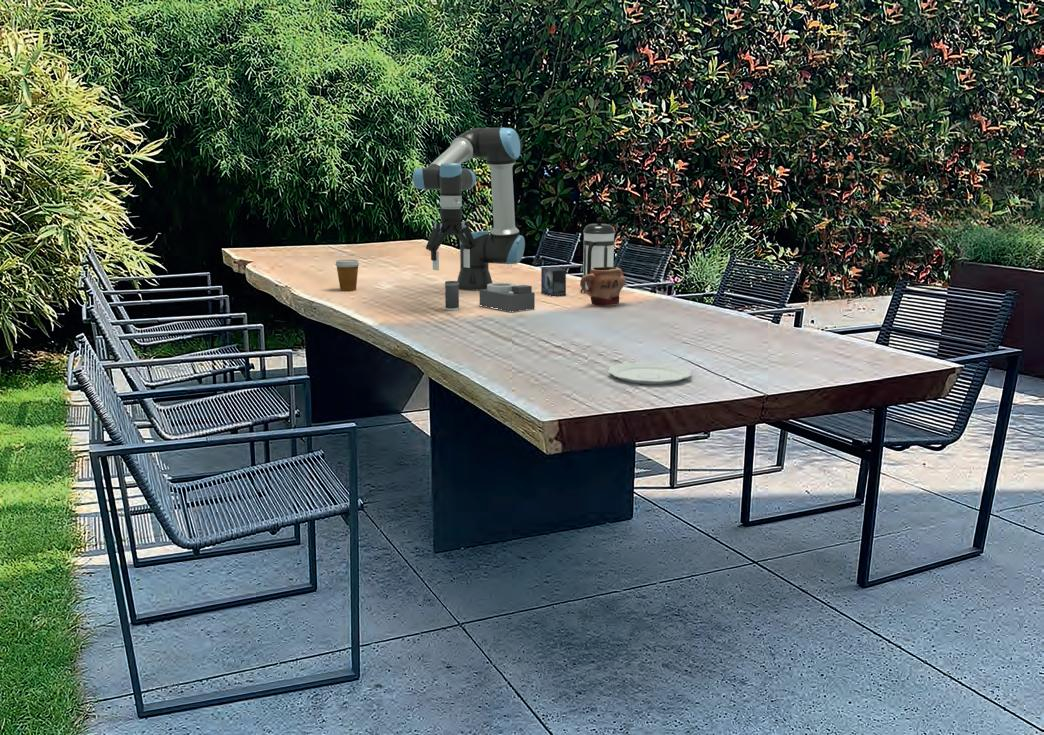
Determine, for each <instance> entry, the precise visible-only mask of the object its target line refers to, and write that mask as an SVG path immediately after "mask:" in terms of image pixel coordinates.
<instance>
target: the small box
mask: <svg viewBox="0 0 1044 735" xmlns="http://www.w3.org/2000/svg"><path fill="white" fill-rule="evenodd" d="M540 271H541V272H540V273H541V274H540V275H541V276H540V278H541V279H540V280H541V284H540V285H541V286H540V289H541V290H540V292H541V294H543V293H544V295H546V294H548V295H547V296H549V295H551V296H550V297H552V296H556V297H565V296H567V269H566V268H565V269H564V268H561V267H558V266H548V267H547V266H546V267H541V270H540Z"/></svg>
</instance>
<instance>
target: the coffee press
mask: <svg viewBox="0 0 1044 735" xmlns="http://www.w3.org/2000/svg"><path fill="white" fill-rule="evenodd" d="M596 222H597V223H589V224H587V225H586V226H585V227H584V229H583V230H582V232H583V233H582V234H583V240H582V242H583V243H582V244H583V266H582V267H583V270H582V271H583V272H582V273H583V274H582V277H583V276H584V275H587V274H590V270H591V269H592V268H597V267H614V257H615V256H614V252H615V243H616V242H615V234H616V230H615V229H614V228H615V227H614V226H613V225H611V224H609V223H608V224H607V223H602V222H603V218H602V217H601V216H600V217H597V218H596ZM584 288H585V289H586V290H588V287H587V280H586V281H585V282H584ZM583 292H584V291H583V289H582V288H581V289H580V293H581V294H586V293H585V292H584V293H583Z"/></svg>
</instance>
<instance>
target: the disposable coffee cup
mask: <svg viewBox="0 0 1044 735" xmlns="http://www.w3.org/2000/svg"><path fill="white" fill-rule="evenodd" d="M359 266H360V263H359V260H357V259H338V260H336V261H335V267H336V272H337V276H338V283H339V290H340V291H342V292H354V291H355V292H356V291H357V285H358V284H357V283H358V274H359Z"/></svg>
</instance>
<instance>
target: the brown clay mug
mask: <svg viewBox="0 0 1044 735" xmlns="http://www.w3.org/2000/svg"><path fill="white" fill-rule="evenodd" d="M586 280H587V287H588V290H587V289H585V288H584V282H585V281H586ZM626 281H627V279H626V278H625V275H624V272H623V270H622V268H619V267H618V266H617V267H615V266H613V267H597V268H592V269H591V270H590V274H587V275H584V276H583V275H582V277H581V279H580V281H579V282H580V284H579V286H580V288H581V289H583V291H582V292H585V293H584V294H586V295H587V296H589V298H590V302H591V304H592V305H593V304H594V306H599V307H606V306H607V307H608V306H617V305H619V304H620V292H621V291H622V289H623V288H624V287H625V284H626Z"/></svg>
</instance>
